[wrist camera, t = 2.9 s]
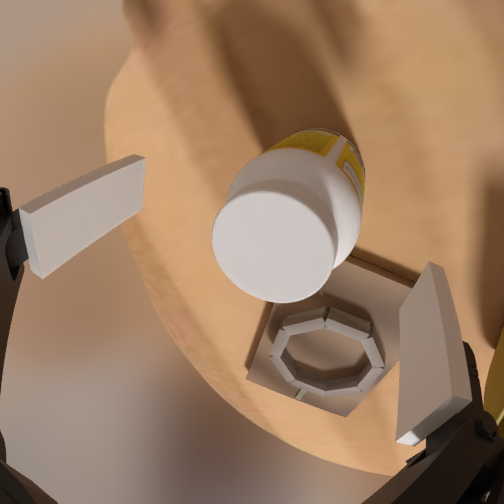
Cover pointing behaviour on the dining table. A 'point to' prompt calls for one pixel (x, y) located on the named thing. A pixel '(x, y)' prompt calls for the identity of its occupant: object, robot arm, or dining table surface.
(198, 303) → the dining table surface
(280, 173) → the pill bottle
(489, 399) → the flower pot
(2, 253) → the robot arm
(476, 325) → the dining table surface
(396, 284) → the collar base
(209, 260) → the dining table surface
